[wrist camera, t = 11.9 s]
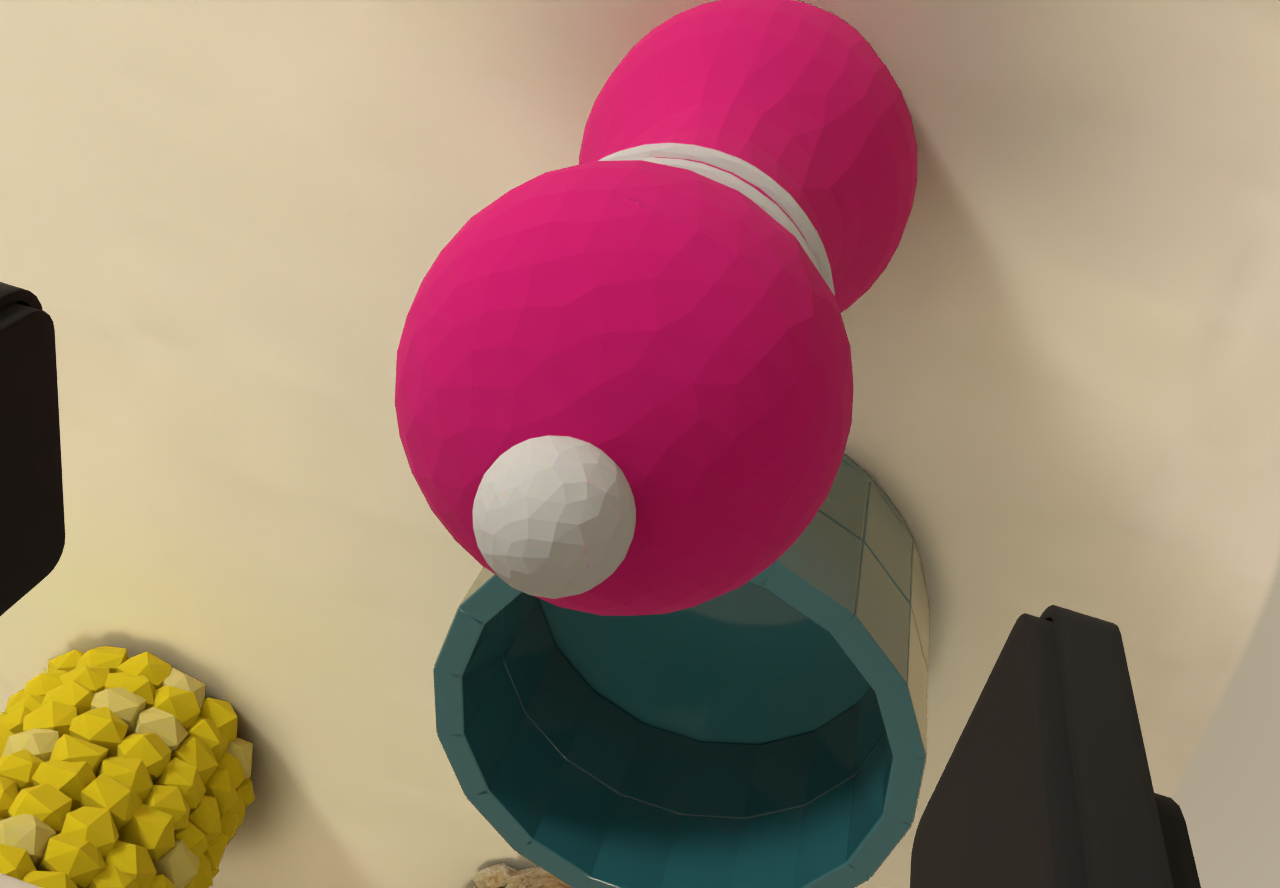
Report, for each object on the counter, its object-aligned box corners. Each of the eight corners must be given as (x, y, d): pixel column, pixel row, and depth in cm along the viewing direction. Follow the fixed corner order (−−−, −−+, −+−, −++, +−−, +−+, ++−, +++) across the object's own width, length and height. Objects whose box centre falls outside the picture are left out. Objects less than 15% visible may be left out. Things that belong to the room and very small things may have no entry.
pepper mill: (573, 114, 30) (86, 490, 13) (790, -95, 27) (524, 39, 10) (755, 322, 32) (534, 908, 14) (982, 148, 29) (1046, 640, 11)
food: (68, 584, 44) (321, 674, 44) (15, 837, 48) (250, 922, 48) (-277, 815, 30) (99, 951, 30) (-317, 1156, 33) (20, 1279, 33)
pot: (552, 351, 34) (466, 465, 28) (992, 483, 32) (1004, 632, 26) (487, 681, 40) (405, 834, 34) (854, 802, 39) (838, 983, 33)
